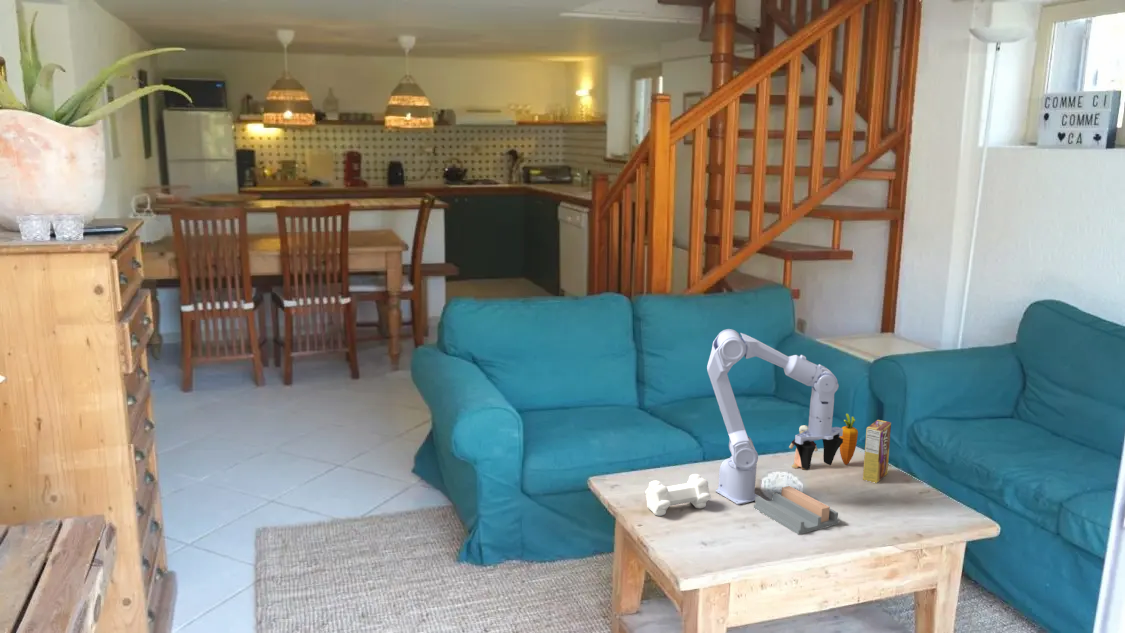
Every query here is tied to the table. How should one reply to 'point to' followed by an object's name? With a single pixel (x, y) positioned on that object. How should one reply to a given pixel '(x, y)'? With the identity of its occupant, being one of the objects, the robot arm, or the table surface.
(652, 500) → the white bone
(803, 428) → the grandmother figurine
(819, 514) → the clay strip
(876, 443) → the candy box
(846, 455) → the carrot
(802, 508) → the rack
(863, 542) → the table surface
